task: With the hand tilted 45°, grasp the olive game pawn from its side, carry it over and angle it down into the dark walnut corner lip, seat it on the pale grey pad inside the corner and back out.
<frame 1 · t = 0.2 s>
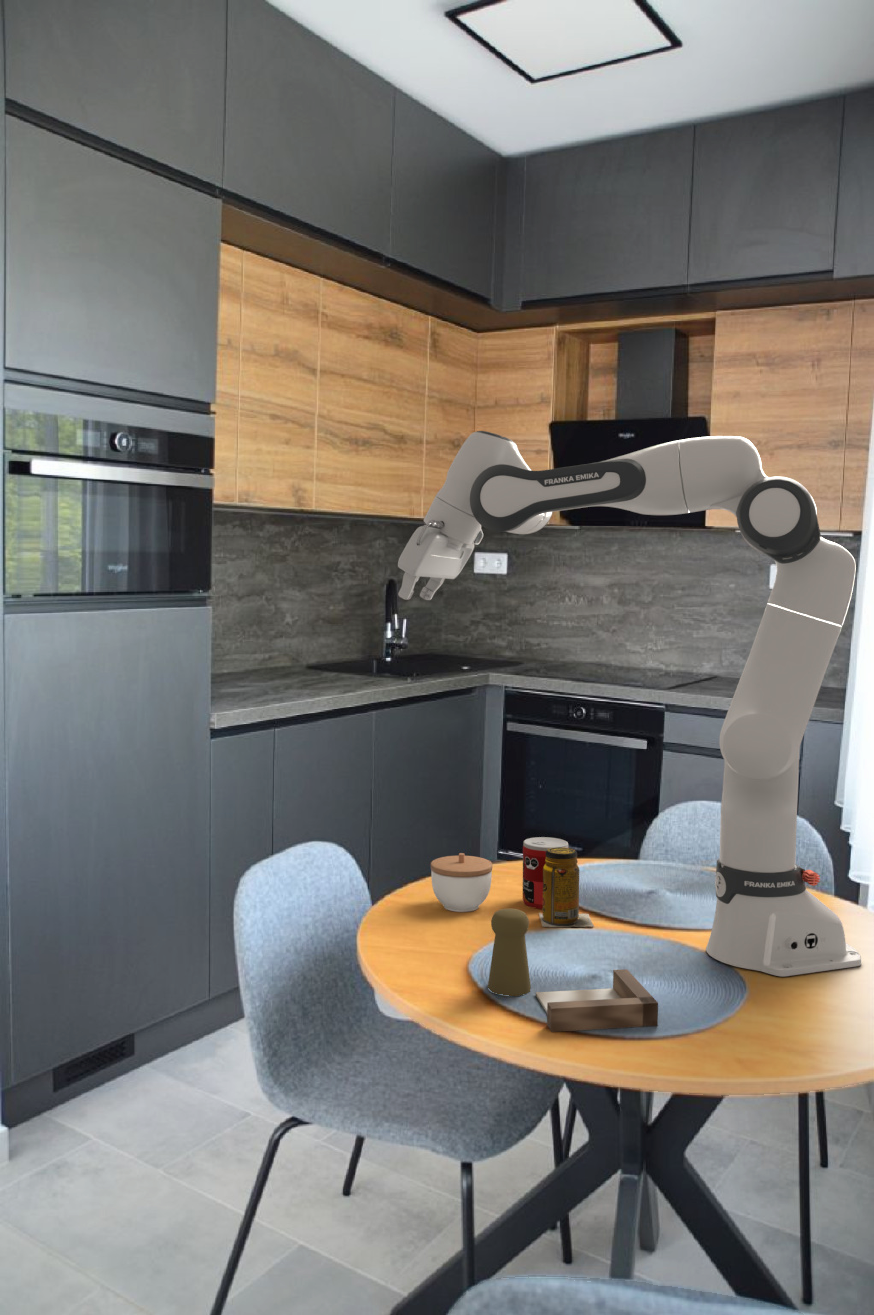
hand: (414, 598, 178), 54 cm above the table, tool tilted 30°, fingers open, 8 cm apart
olive game pawn: (509, 989, 149), on the table
lidded jar: (461, 908, 186), on the table
condiment: (565, 922, 179), on the table
corner lip: (581, 1007, 142), on the table
canned food: (544, 904, 189), on the table
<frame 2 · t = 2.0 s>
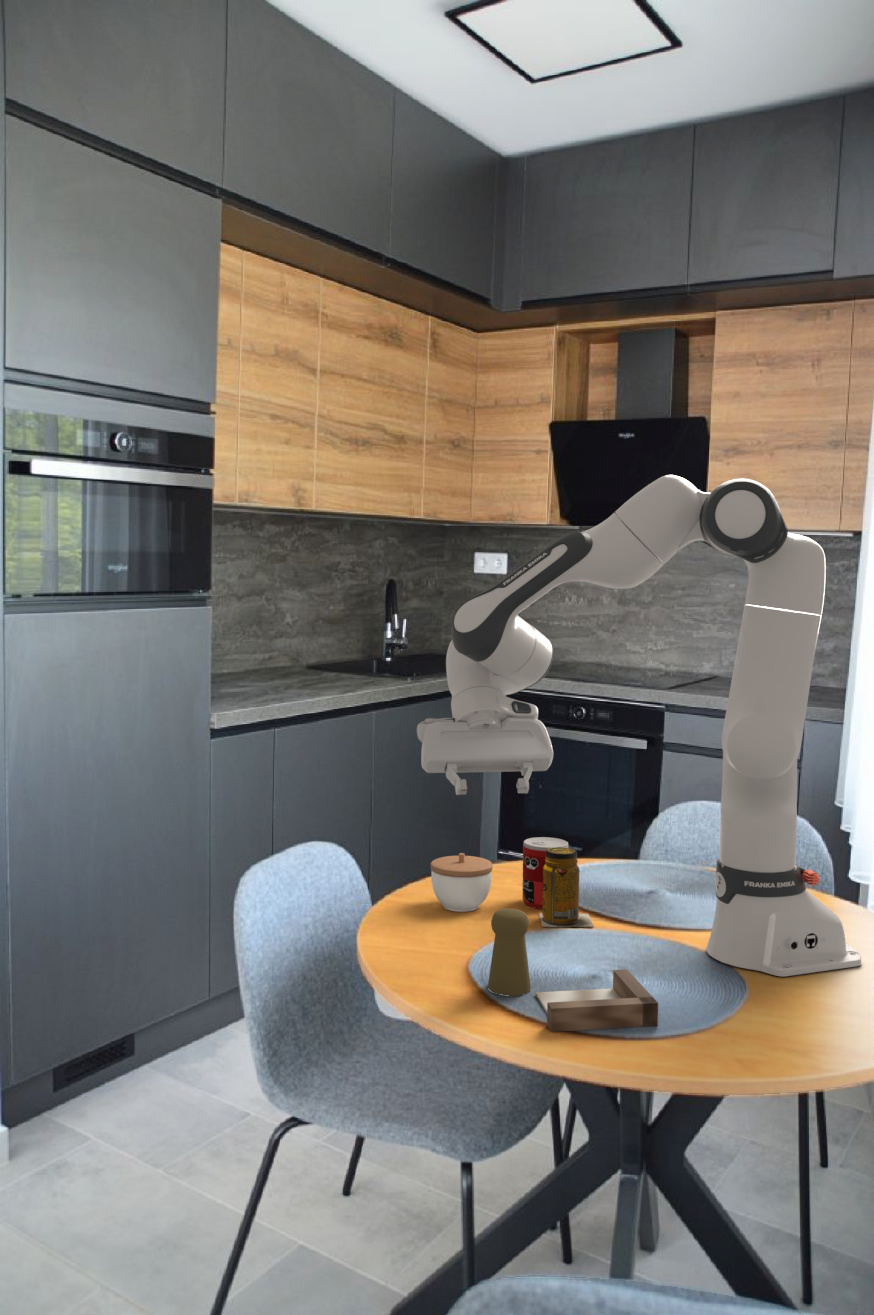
hand: (492, 792, 159), 25 cm above the table, tool tilted 45°, fingers open, 8 cm apart
nothing on the table moved.
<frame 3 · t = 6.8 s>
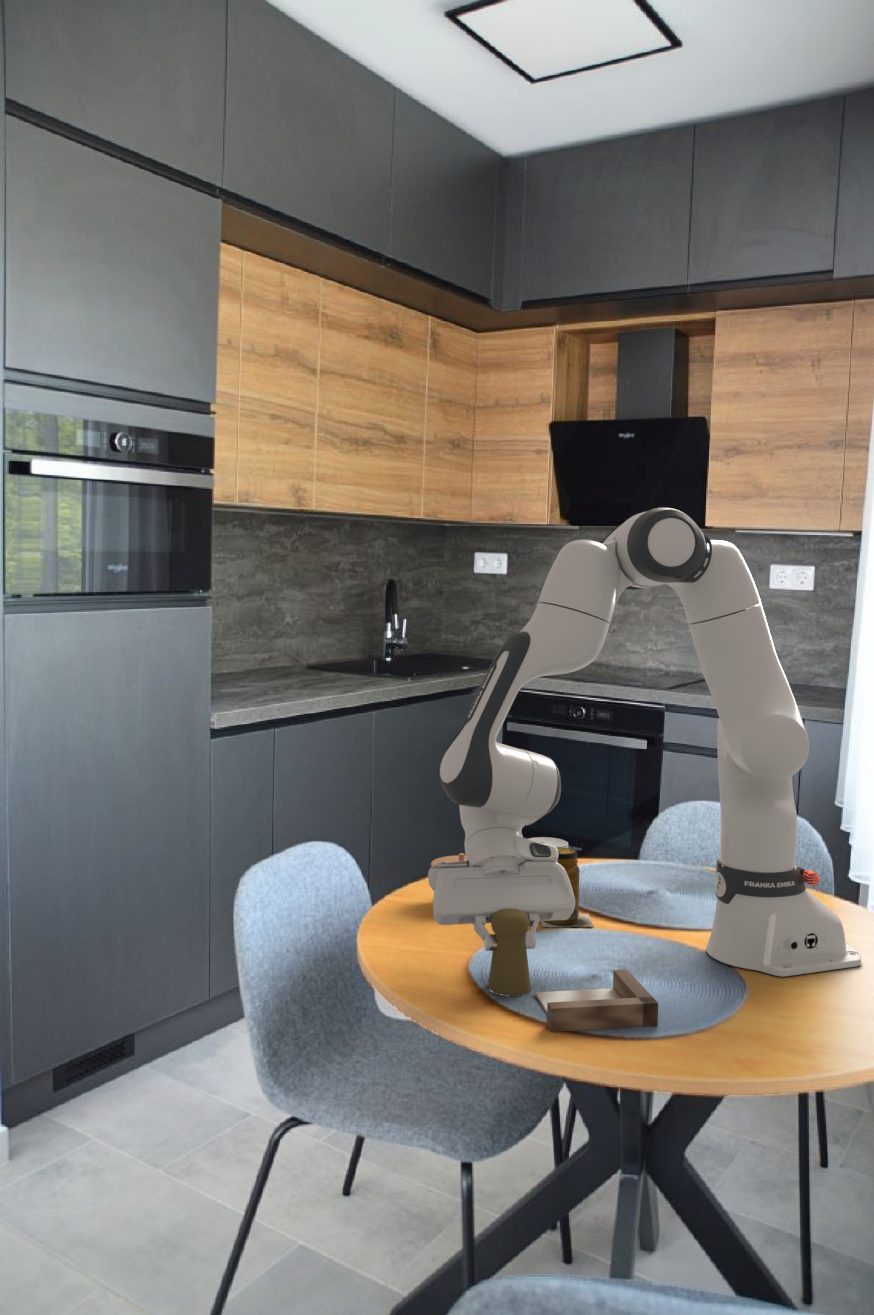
hand: (510, 948, 148), 6 cm above the table, tool tilted 45°, fingers closed on olive game pawn, 4 cm apart
olive game pawn: (509, 989, 149), on the table, touching gripper
everything else where it was.
when the fingers open (7 cm above the table, at t = 12.1 s): olive game pawn stays where it is, resting on corner lip.
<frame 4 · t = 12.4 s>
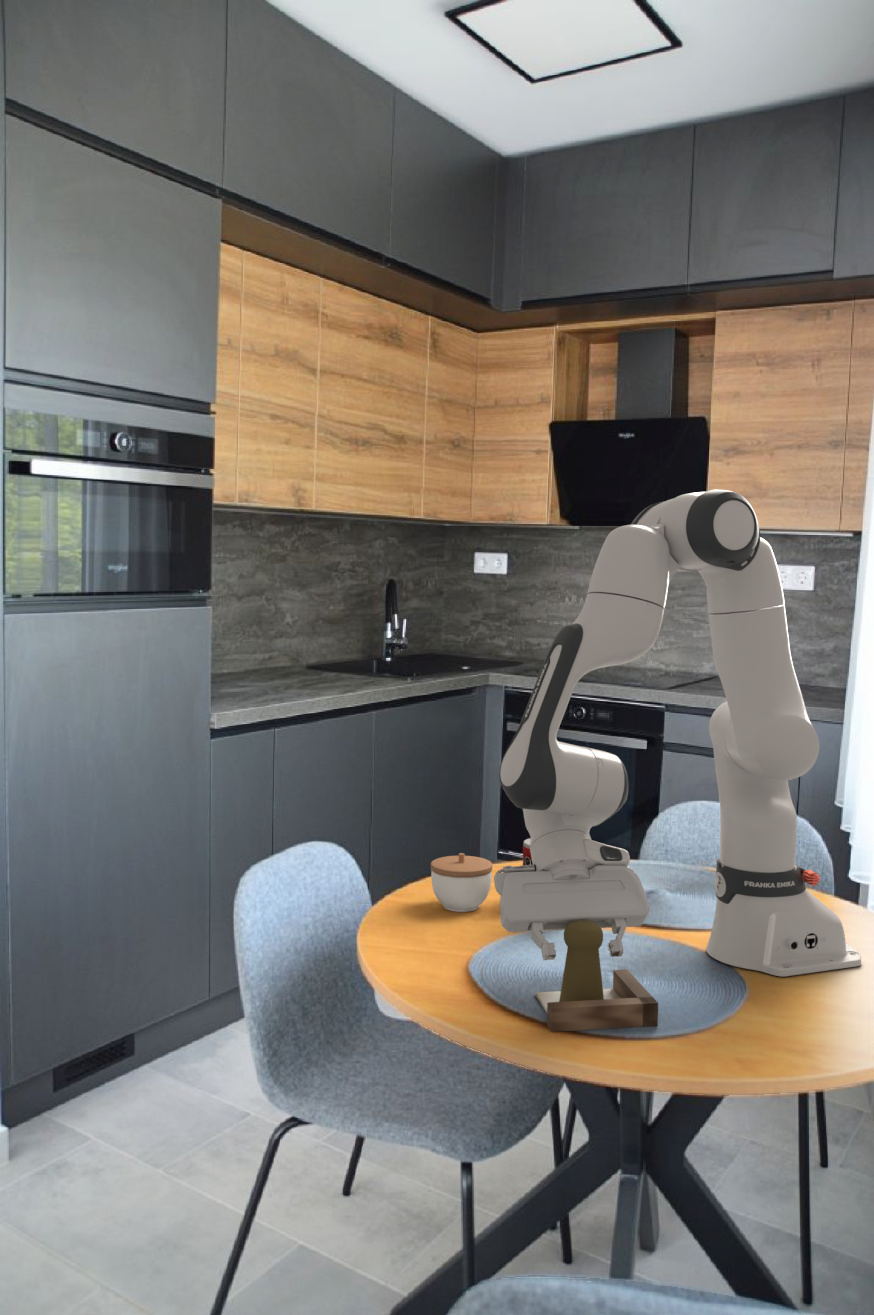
hand: (583, 956, 141), 7 cm above the table, tool tilted 45°, fingers open, 8 cm apart
olive game pawn: (581, 1005, 142), resting on corner lip
everything else where it was.
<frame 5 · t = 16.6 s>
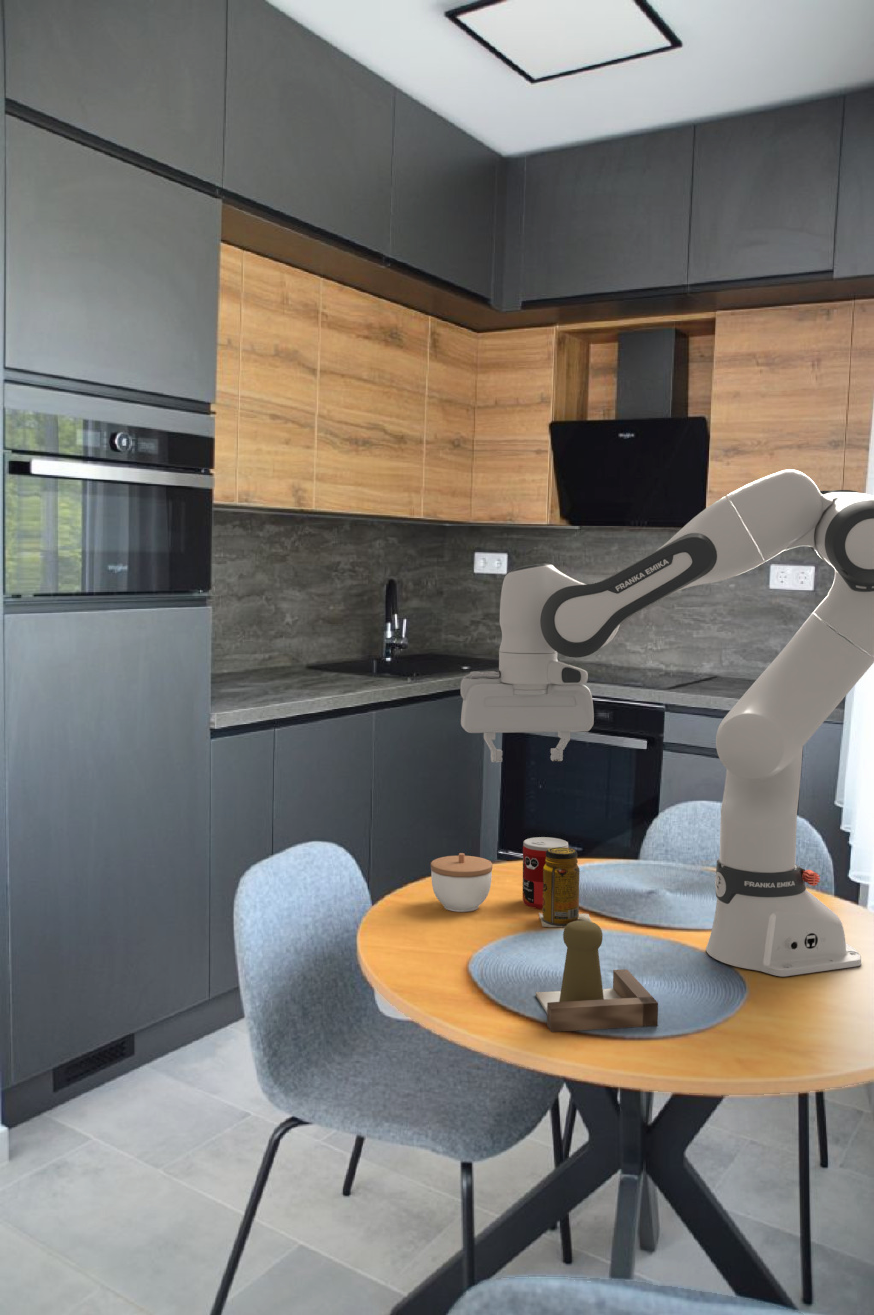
hand: (526, 761, 164), 29 cm above the table, tool pointing down, fingers open, 8 cm apart
nothing on the table moved.
at the end: olive game pawn inside the target area (0.1 cm from its centre), resting on corner lip; olive game pawn tilted 0°; the gripper is holding nothing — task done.
